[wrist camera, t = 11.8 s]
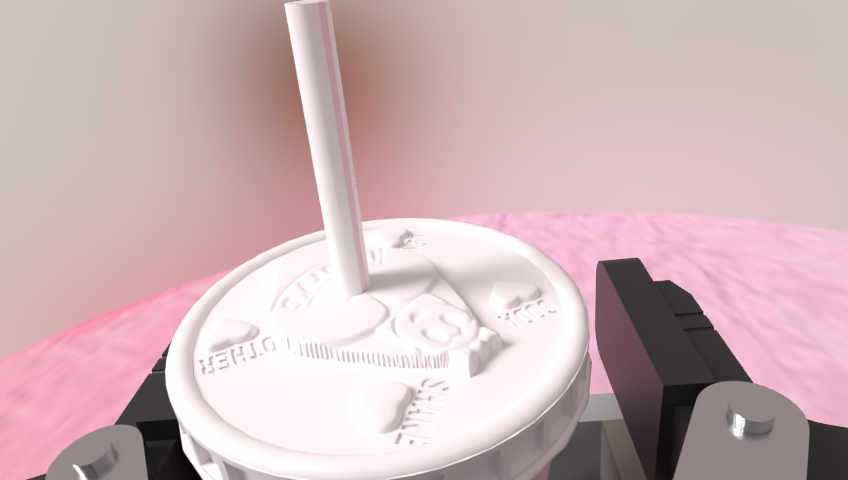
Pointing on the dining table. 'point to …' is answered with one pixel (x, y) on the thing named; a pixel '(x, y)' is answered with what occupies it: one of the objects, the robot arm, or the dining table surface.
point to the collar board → (599, 446)
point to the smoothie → (378, 336)
